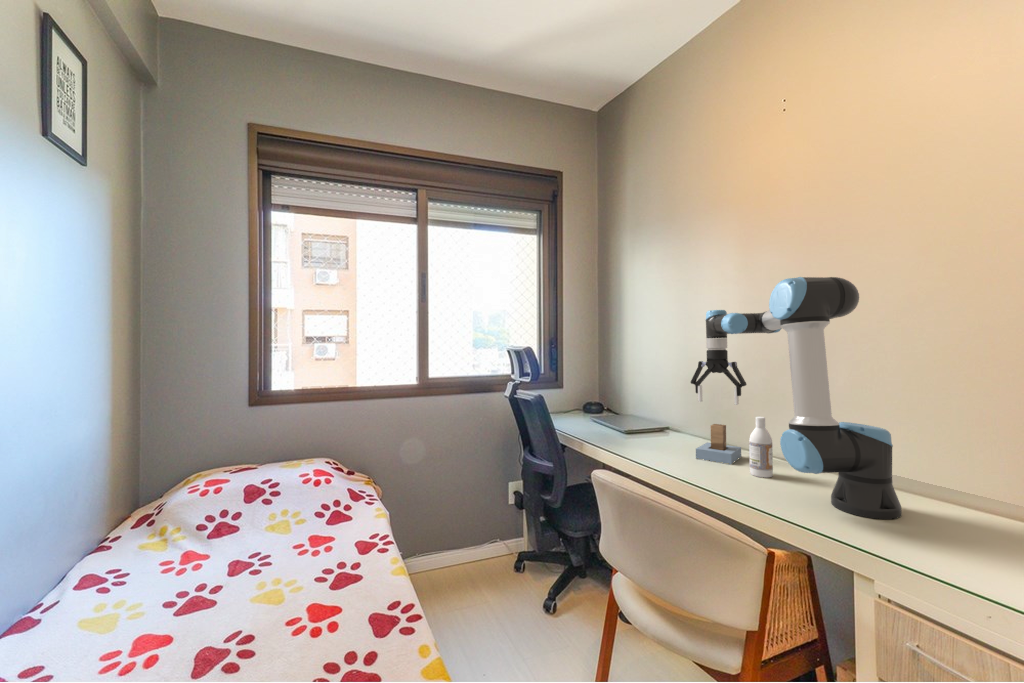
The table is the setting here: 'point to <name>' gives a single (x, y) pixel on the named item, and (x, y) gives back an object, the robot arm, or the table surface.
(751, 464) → the bath foam
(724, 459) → the socket block
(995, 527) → the table surface
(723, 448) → the peg
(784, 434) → the robot arm
